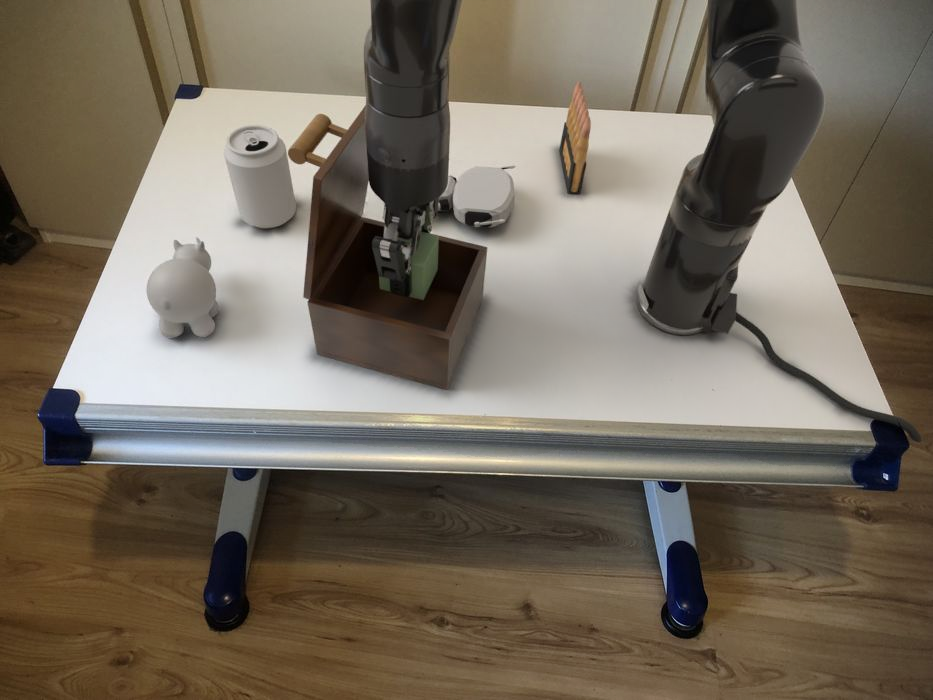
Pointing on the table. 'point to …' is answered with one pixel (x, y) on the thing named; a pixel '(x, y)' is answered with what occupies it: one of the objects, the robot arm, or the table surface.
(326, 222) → the lid
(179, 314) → the chubby cartoon animal
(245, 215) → the can
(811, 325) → the table surface
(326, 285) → the chest
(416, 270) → the block
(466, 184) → the robot toy
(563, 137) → the ammunition clip
